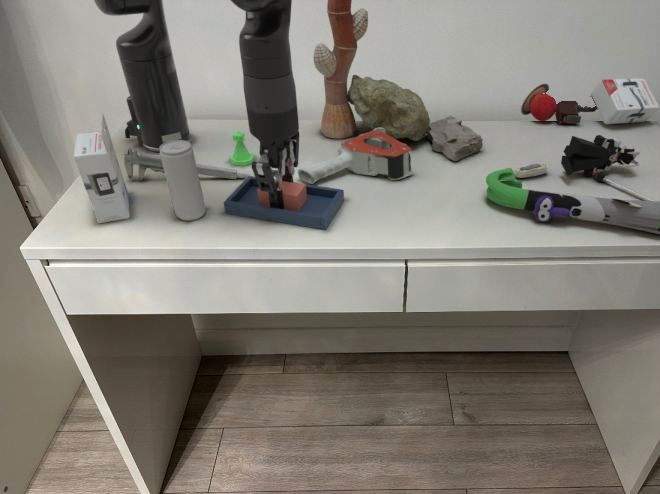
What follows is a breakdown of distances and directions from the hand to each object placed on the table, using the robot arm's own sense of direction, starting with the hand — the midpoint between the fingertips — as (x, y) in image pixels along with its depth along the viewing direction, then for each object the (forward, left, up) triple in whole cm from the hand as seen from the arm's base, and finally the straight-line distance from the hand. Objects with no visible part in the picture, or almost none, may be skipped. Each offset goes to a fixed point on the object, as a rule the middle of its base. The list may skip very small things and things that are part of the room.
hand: (282, 201), depth 93 cm
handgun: (+56, +51, 0) cm, 76 cm away
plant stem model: (0, +31, -1) cm, 32 cm away
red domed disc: (+38, +53, +3) cm, 65 cm away
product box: (-27, -9, -1) cm, 28 cm away
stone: (+24, +32, -1) cm, 40 cm away
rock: (+16, +37, +6) cm, 41 cm away
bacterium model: (+40, +20, 0) cm, 45 cm away
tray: (0, 0, -1) cm, 1 cm away
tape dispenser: (+9, +16, -1) cm, 19 cm away
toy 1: (+63, +12, +2) cm, 64 cm away
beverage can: (-14, -7, -1) cm, 15 cm away
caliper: (-20, +4, -1) cm, 21 cm away
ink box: (+53, +52, +4) cm, 75 cm away
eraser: (0, 0, 0) cm, 0 cm away
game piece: (-14, +13, -1) cm, 19 cm away
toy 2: (+49, +18, +4) cm, 52 cm away
